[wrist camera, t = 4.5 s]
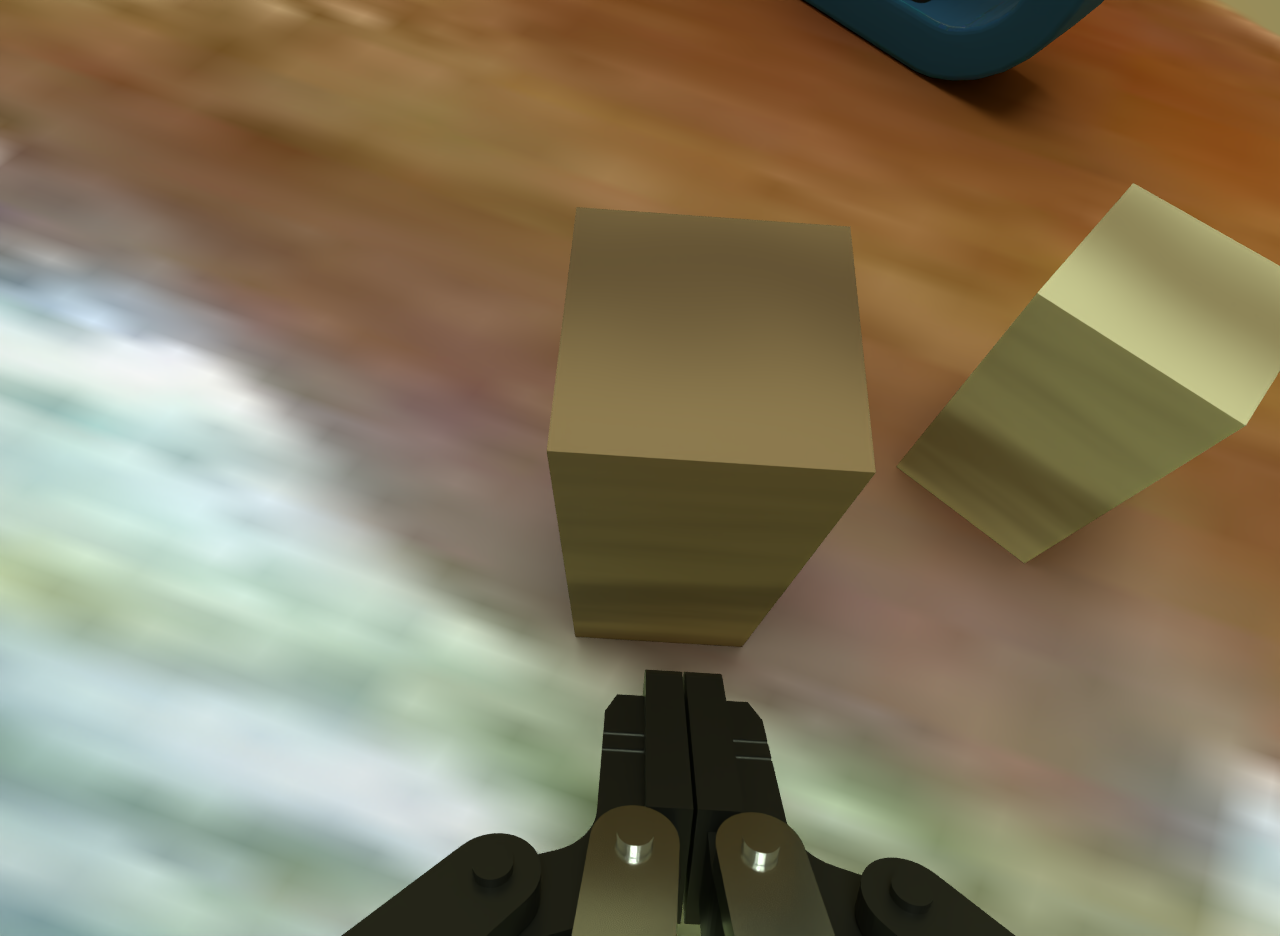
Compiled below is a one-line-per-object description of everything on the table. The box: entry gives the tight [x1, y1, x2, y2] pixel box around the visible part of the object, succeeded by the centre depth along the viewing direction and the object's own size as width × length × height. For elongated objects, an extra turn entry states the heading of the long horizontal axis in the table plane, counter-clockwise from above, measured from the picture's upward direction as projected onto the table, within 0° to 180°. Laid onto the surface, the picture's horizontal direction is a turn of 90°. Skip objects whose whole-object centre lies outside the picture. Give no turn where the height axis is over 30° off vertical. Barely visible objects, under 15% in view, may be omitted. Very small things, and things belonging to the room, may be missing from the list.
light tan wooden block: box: [547, 207, 876, 647], centre depth 17 cm, size 5×5×12 cm
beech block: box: [896, 183, 1280, 563], centre depth 21 cm, size 5×5×9 cm
